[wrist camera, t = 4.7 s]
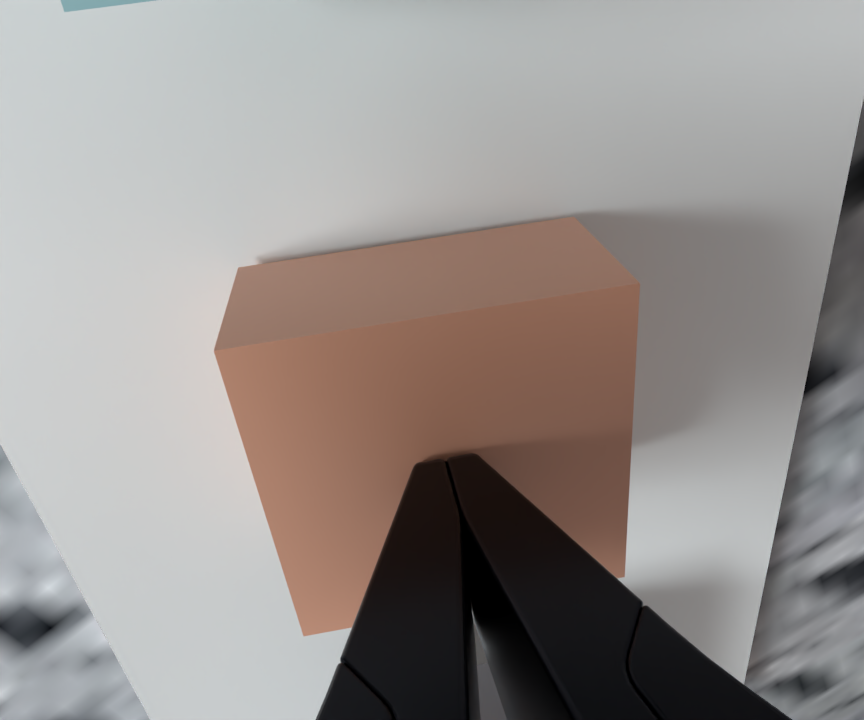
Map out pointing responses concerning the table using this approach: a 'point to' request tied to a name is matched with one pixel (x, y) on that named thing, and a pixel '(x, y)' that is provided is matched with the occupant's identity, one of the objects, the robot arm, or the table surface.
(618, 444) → the terracotta button
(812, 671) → the table surface
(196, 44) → the button board
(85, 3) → the teal button
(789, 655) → the table surface
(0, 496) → the table surface
